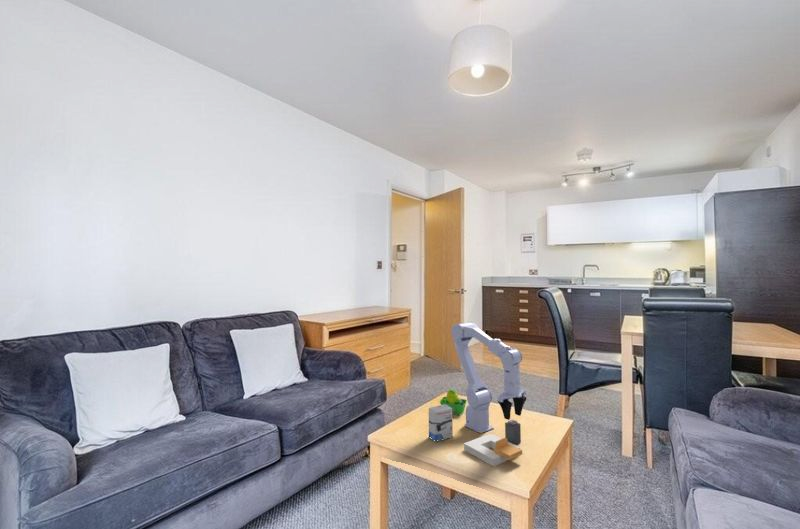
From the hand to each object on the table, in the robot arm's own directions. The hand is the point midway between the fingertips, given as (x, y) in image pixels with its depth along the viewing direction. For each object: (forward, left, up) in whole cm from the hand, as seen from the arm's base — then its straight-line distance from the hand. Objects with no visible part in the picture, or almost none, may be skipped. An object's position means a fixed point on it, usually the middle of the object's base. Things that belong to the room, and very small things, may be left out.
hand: (512, 416), depth 143 cm
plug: (0, 0, -9) cm, 9 cm away
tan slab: (+8, -13, -7) cm, 17 cm away
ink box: (-19, -20, -10) cm, 29 cm away
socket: (+1, -13, -9) cm, 16 cm away
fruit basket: (-36, +2, -10) cm, 37 cm away
